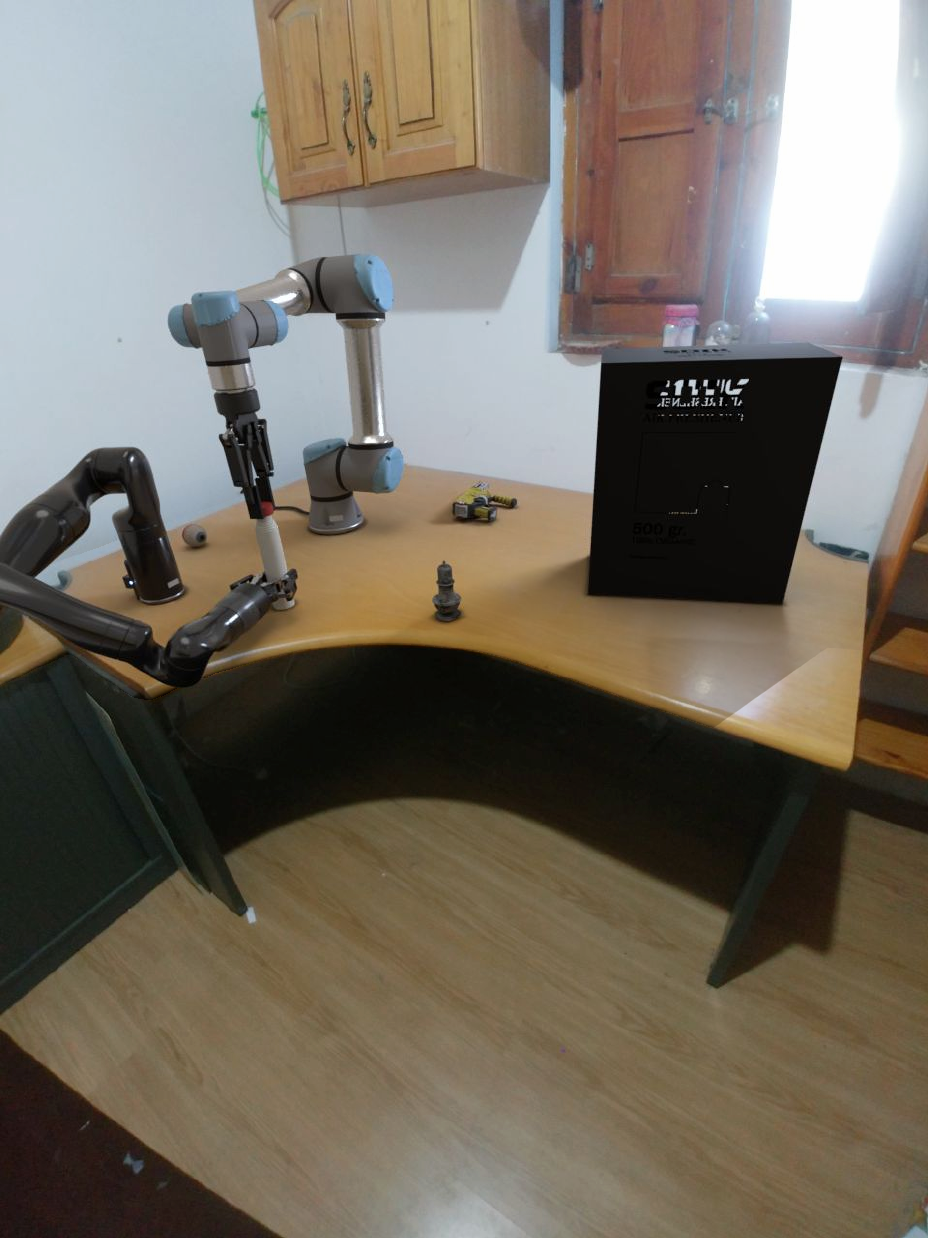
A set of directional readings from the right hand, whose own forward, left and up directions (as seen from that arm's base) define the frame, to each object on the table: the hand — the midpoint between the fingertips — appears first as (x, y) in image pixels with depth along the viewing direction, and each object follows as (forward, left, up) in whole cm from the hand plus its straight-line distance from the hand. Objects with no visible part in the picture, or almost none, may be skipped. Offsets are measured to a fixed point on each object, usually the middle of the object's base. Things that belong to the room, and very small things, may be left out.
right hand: (263, 513), depth 119 cm
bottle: (0, 0, -21) cm, 21 cm away
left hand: (-2, +2, -14) cm, 14 cm away
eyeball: (-48, -5, -21) cm, 52 cm away
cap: (0, 0, +2) cm, 2 cm away
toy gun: (-16, +69, -21) cm, 74 cm away
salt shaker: (+27, +24, -21) cm, 42 cm away
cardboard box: (+47, +71, -21) cm, 88 cm away
